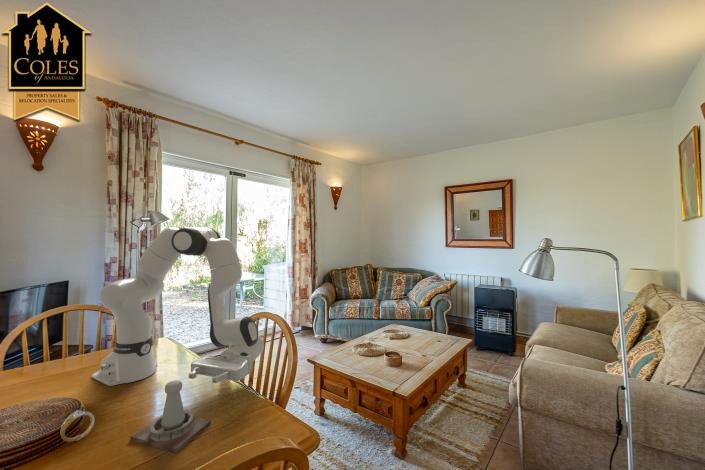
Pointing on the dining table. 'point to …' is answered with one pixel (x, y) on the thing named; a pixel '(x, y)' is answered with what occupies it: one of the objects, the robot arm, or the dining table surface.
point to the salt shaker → (173, 407)
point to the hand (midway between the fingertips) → (202, 378)
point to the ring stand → (171, 433)
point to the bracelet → (72, 416)
